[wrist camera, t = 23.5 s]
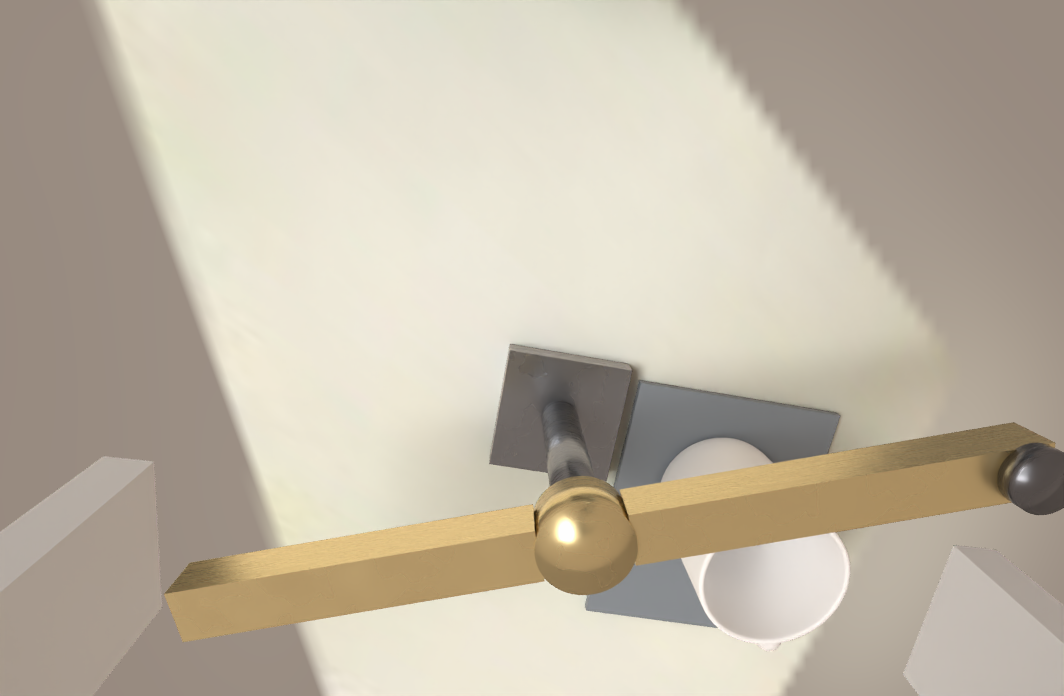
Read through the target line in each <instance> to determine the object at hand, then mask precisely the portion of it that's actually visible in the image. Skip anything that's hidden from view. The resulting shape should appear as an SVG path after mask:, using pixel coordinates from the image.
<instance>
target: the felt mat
mask: <svg viewBox="0 0 1064 696" xmlns="http://www.w3.org/2000/svg"><path fill="white" fill-rule="evenodd" d="M839 418H840V415H838V414H837V413H835V412H829V411H823V410H817V409H811V408H805V407H799V406H793V405H787V404H781V403H775V402H769V401H763V400H756V399H750V398H744V397H738V396H732V395H726V394H720V393H714V392H708V391H702V390H696V389H690V388H684V387H678V386H672V385H666V384H660V383H654V382H648V381H641V380H639V384H638V388H637V392H636V396H635V400H634V404H633V409H632V413H631V417H630V421H629V425H628V429H627V433H626V438H625V442H624V446H623V450H622V454H621V458H620V463H619V467H618V471H617V475H616V479H615V483H614V488H615V489H616V490H617V491H618V493H619V494H620V489H626V488H631V487H637V486H643V485H649V484H655V483H661V480H662V477H663V475H664V473H665V471H666V469H667V467H668V466H669V464H670V463H671V461H672V460H673V459H674V458H675V457H676V456H677V455H678V454H679V453H680V452H682V451H683V450H684V449H686V448H687V447H689V446H691V445H693V444H695V443H697V442H700V441H703V440H707V439H712V438H733V439H737V440H741V441H744V442H746V443H748V444H750V445H752V446H754V447H755V448H757V449H758V450H760V451H761V452H762V453H763V454H764V455H765V456H766V457H767V458H768V459H769V460H770V461H771V462H772V463H778V462H784V461H790V460H796V459H802V458H808V457H813V456H819V455H825V454H828V451H829V448H830V445H831V442H832V439H833V436H834V433H835V430H836V427H837V424H838V421H839ZM585 607H586V610H587V611H594V612H602V613H609V614H617V615H624V616H632V617H639V618H647V619H654V620H662V621H669V622H677V623H684V624H692V625H699V626H707V627H714V628H718V627H717V626H716V625H714V624H713V622H712V621H711V620H710V619H709V618H708V616H707V614H706V613H705V611H704V609H703V607H702V605H701V602H700V600H699V598H698V596H697V593H696V591H695V589H694V587H693V584H692V582H691V580H690V577H689V575H688V573H687V571H686V568H685V566H684V564H683V562H682V559H681V558H679V559H673V560H667V561H661V562H656V563H650V564H644V565H638V566H636V565H635V564H634V566H633V568H632V570H631V571H630V573H629V574H628V575H627V576H626V577H625V578H624V579H623V580H622V581H621V582H620V583H619V584H617V585H616V586H614V587H613V588H611V589H609V590H607V591H604V592H601V593H597V594H591V595H587V599H586V604H585Z"/></svg>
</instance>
